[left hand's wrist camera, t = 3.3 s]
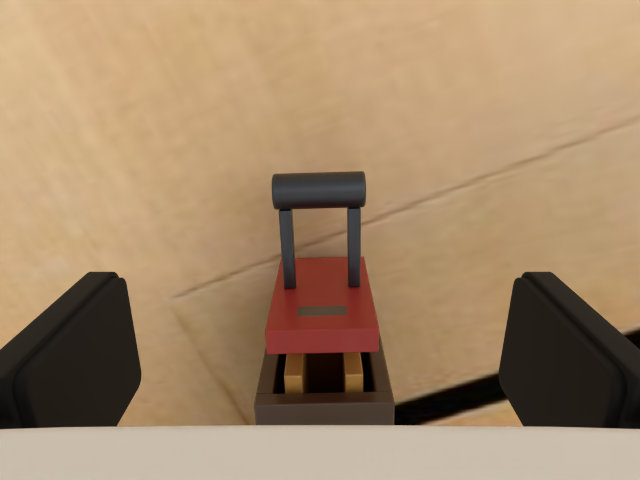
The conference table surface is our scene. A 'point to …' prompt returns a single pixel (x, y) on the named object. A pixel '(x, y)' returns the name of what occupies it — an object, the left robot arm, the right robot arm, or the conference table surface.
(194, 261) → the conference table surface
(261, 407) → the cabinet
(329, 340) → the drawer
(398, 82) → the conference table surface
